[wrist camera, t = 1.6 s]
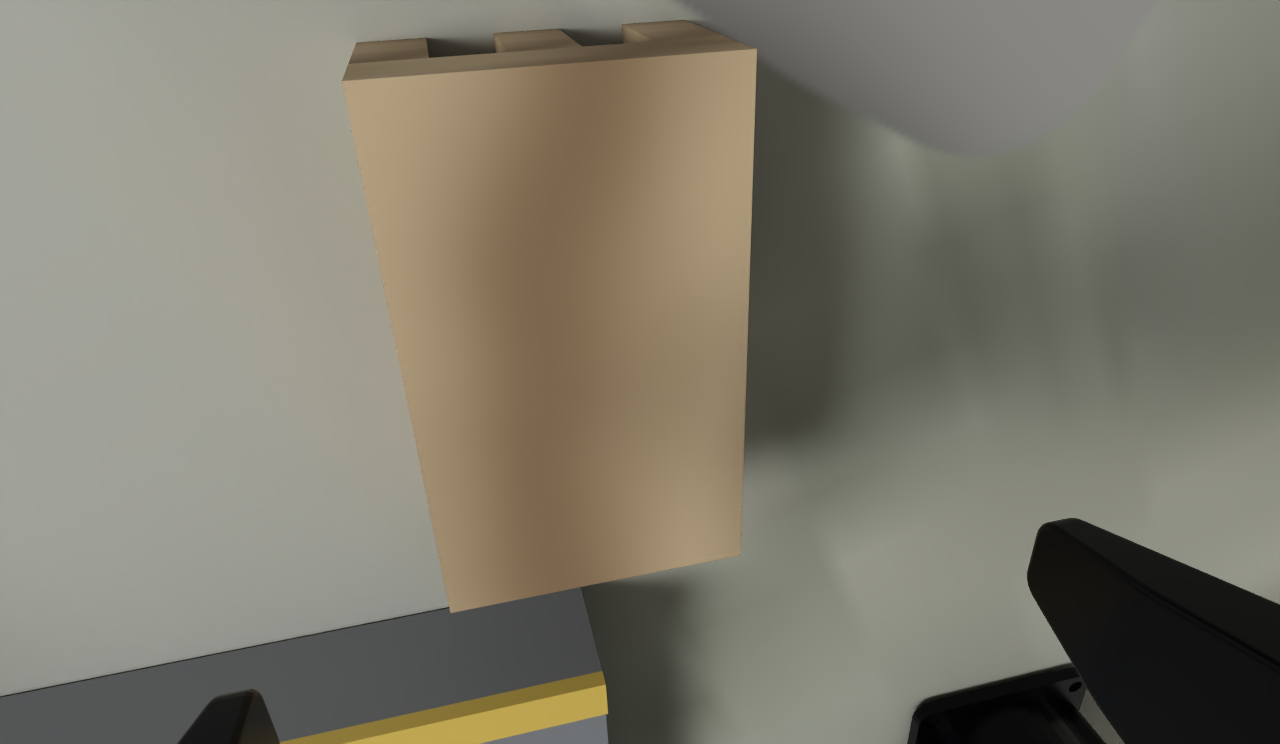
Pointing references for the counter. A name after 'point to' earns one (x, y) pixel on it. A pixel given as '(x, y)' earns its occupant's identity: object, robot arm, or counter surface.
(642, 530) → the pallet
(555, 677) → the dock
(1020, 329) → the counter surface
